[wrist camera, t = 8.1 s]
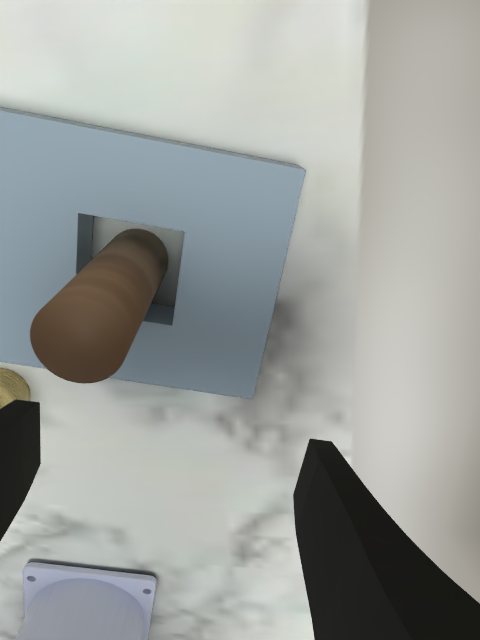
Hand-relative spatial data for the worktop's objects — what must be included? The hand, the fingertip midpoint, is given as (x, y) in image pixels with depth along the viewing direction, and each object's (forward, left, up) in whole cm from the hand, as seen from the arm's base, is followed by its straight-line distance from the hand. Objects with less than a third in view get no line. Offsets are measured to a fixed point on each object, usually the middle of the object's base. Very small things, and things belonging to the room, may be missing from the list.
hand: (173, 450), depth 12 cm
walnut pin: (+2, +3, -9) cm, 10 cm away
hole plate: (+2, +3, -9) cm, 10 cm away
